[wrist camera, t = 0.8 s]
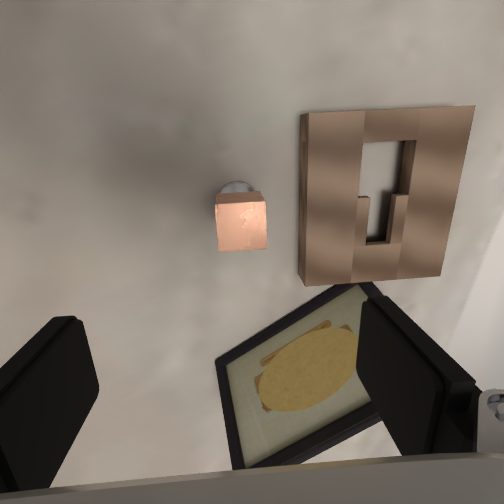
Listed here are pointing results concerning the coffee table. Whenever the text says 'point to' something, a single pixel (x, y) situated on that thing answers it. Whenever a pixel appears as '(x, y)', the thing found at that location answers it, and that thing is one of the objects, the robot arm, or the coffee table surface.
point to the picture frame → (297, 383)
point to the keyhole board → (357, 207)
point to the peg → (240, 218)
